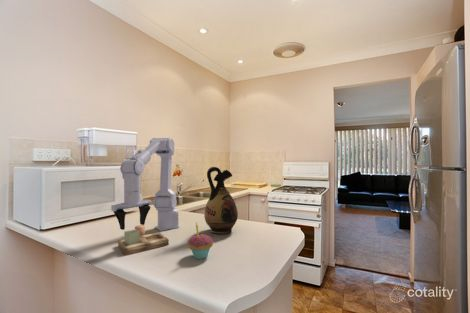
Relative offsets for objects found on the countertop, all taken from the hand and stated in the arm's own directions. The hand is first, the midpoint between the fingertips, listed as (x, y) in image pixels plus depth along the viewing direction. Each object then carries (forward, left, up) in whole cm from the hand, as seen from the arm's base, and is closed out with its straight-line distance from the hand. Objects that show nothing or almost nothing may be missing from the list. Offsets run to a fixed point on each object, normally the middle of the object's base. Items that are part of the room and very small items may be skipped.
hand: (132, 226), depth 88 cm
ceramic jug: (-37, +4, -8) cm, 38 cm away
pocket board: (-4, 0, -8) cm, 9 cm away
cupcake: (-17, +23, -8) cm, 29 cm away
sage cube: (0, 0, -7) cm, 7 cm away
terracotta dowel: (-5, -9, -8) cm, 13 cm away
